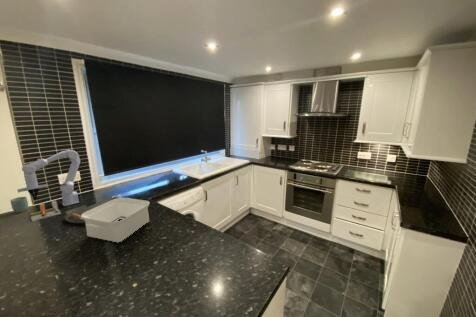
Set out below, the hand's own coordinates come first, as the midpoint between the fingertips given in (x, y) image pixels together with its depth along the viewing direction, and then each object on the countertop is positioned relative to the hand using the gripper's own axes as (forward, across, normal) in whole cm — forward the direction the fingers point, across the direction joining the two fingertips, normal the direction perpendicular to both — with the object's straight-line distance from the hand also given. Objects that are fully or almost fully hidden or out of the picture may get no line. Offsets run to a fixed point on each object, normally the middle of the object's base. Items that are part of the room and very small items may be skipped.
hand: (35, 198), depth 139 cm
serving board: (+11, -30, +33) cm, 46 cm away
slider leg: (+10, -3, +7) cm, 13 cm away
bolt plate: (+10, -3, +12) cm, 16 cm away
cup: (+11, +8, -11) cm, 17 cm away
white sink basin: (+11, -31, +71) cm, 79 cm away
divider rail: (+10, -3, +7) cm, 13 cm away
